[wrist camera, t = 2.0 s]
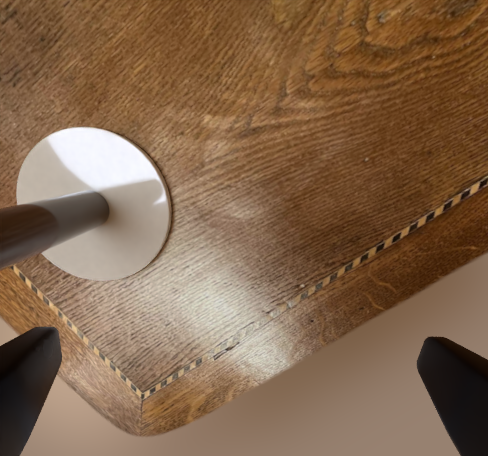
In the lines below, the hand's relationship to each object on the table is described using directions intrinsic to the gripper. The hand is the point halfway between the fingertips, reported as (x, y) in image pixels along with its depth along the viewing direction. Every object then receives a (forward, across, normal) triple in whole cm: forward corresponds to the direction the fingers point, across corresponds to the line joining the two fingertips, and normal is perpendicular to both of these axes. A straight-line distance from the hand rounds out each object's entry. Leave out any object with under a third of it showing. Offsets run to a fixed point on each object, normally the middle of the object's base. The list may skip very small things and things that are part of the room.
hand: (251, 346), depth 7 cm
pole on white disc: (+14, +9, +1) cm, 16 cm away
